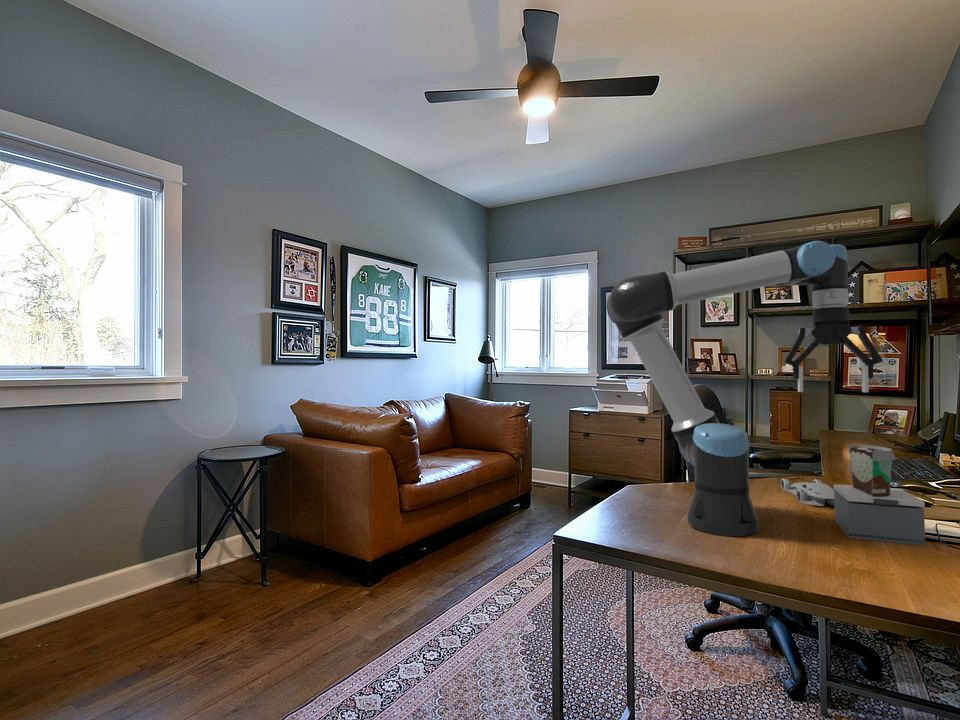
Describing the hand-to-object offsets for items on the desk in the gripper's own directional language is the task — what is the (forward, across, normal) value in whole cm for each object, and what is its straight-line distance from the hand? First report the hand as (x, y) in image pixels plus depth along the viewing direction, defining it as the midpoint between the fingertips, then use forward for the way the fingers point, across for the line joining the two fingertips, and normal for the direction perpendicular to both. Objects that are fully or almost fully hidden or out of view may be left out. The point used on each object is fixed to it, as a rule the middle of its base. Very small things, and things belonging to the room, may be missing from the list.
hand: (832, 392), depth 129 cm
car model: (+31, -2, +18) cm, 36 cm away
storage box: (+31, +6, -12) cm, 33 cm away
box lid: (+23, +6, -12) cm, 27 cm away
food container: (+22, +6, -12) cm, 26 cm away
